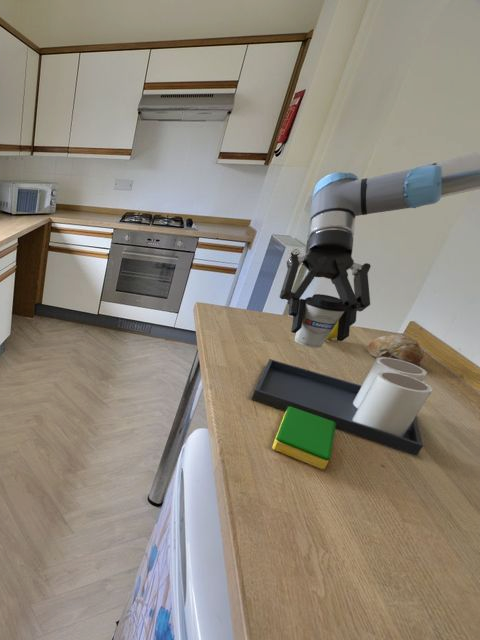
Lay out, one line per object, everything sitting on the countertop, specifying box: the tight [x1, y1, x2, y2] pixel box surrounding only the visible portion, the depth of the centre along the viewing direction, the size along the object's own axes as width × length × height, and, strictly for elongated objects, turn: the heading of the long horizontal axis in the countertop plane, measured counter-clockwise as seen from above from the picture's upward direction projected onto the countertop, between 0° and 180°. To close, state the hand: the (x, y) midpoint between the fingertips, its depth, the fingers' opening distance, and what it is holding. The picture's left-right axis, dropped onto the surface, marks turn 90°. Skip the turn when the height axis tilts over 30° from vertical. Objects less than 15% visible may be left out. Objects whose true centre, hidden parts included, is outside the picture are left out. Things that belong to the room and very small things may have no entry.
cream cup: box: [353, 357, 428, 408], centre depth 79 cm, size 7×7×10 cm
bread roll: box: [366, 334, 425, 366], centre depth 104 cm, size 10×10×8 cm
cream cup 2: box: [352, 371, 433, 437], centre depth 73 cm, size 7×7×10 cm
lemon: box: [326, 320, 339, 340], centre depth 112 cm, size 6×6×8 cm
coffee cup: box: [294, 293, 347, 349], centre depth 84 cm, size 7×7×10 cm
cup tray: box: [251, 358, 424, 457], centre depth 83 cm, size 24×19×2 cm
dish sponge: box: [271, 407, 336, 470], centre depth 71 cm, size 7×14×2 cm, turn 137°
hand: (319, 333), depth 82 cm, fingers closed on coffee cup, 7 cm apart
